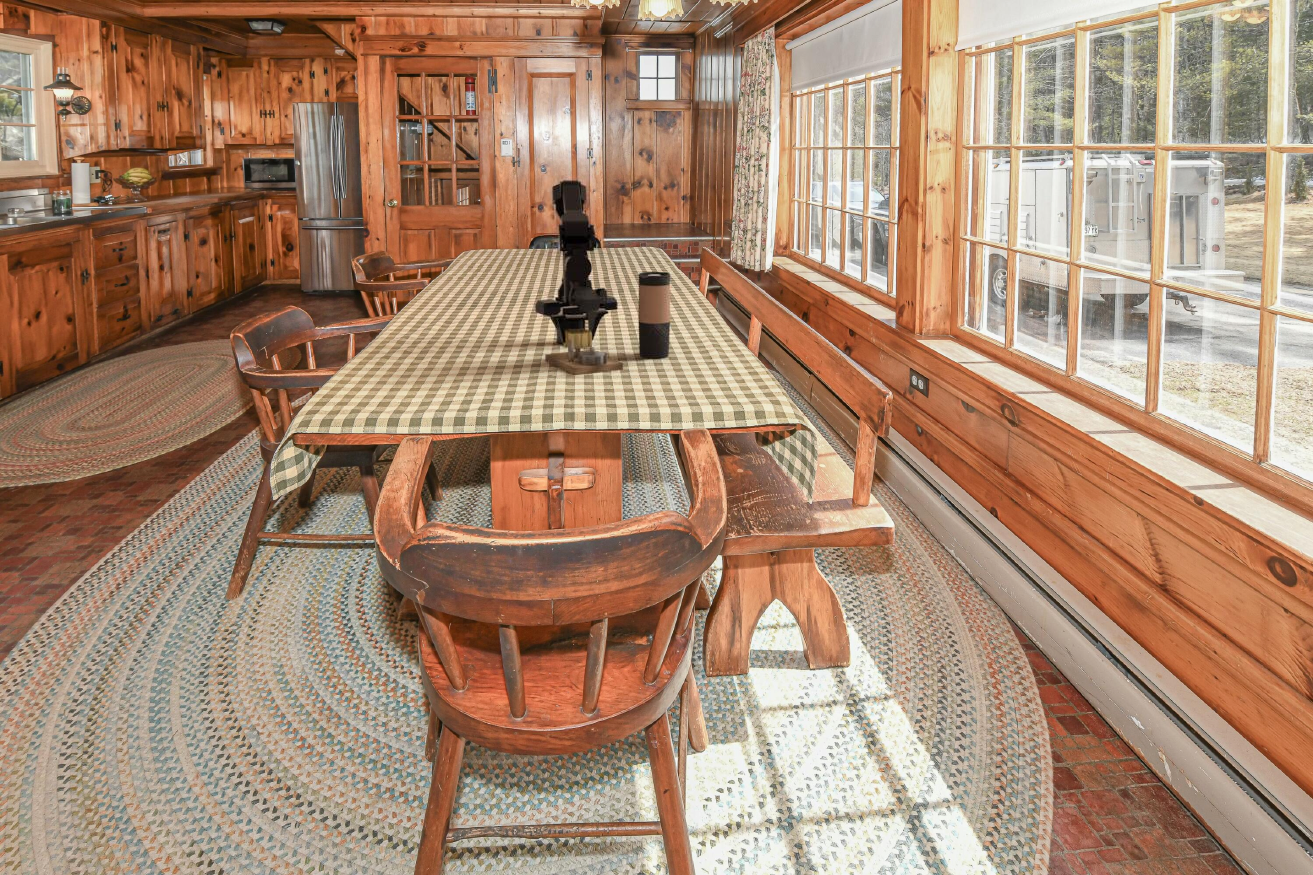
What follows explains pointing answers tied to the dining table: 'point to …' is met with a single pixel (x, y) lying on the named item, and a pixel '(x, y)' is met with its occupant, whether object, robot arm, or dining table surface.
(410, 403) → the dining table surface
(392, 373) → the dining table surface
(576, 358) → the gear board
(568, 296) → the robot arm
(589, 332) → the brass gear
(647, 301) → the travel mug
